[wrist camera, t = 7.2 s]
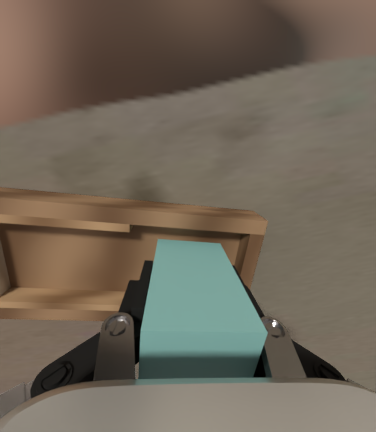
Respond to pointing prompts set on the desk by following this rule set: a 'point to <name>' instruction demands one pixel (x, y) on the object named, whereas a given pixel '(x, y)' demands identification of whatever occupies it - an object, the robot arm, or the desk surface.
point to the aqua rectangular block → (197, 316)
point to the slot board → (101, 248)
